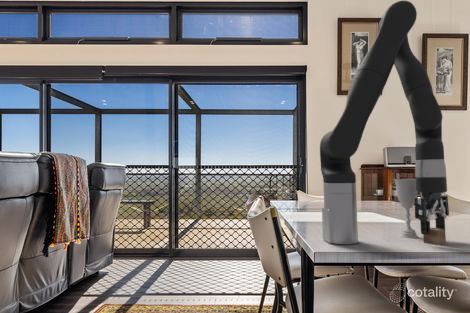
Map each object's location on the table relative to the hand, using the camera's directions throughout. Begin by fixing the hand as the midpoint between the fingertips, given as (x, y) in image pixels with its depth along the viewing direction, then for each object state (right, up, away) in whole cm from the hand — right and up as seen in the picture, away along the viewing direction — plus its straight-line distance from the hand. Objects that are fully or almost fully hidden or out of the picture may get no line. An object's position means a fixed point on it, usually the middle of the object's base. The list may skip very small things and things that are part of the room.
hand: (433, 232), depth 88 cm
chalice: (-2, -4, +9) cm, 10 cm away
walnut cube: (0, -3, 0) cm, 3 cm away
